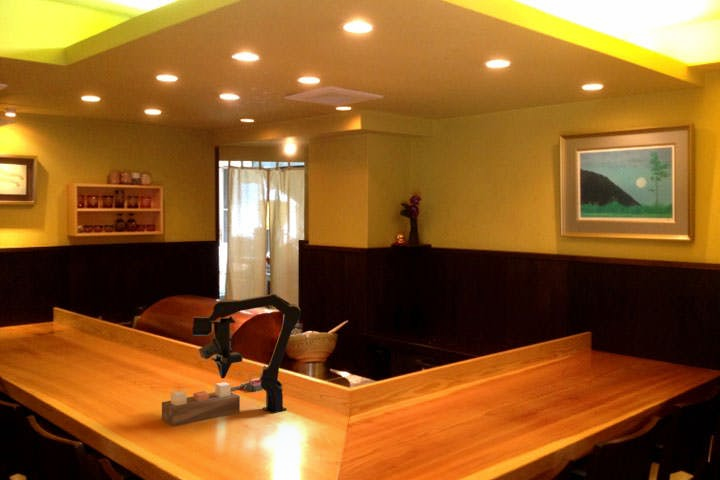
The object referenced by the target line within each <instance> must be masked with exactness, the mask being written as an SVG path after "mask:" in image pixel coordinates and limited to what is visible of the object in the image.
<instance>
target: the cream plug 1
mask: <svg viewBox="0 0 720 480" xmlns="http://www.w3.org/2000/svg"><path fill="white" fill-rule="evenodd" d="M170 401H171V404H172V405H174V406H179V405H184V404H187V392H186V391H185V390H183V389H179V390H173V391H170Z"/></svg>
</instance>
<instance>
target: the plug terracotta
mask: <svg viewBox="0 0 720 480" xmlns="http://www.w3.org/2000/svg"><path fill="white" fill-rule="evenodd" d="M209 393H210V392H209ZM209 393H208V392H207V391H205V390H203V391H198V392H193V393H192V394H193V396H192V397H194V400H196V401H198V402H199V401H205V400H209Z"/></svg>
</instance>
